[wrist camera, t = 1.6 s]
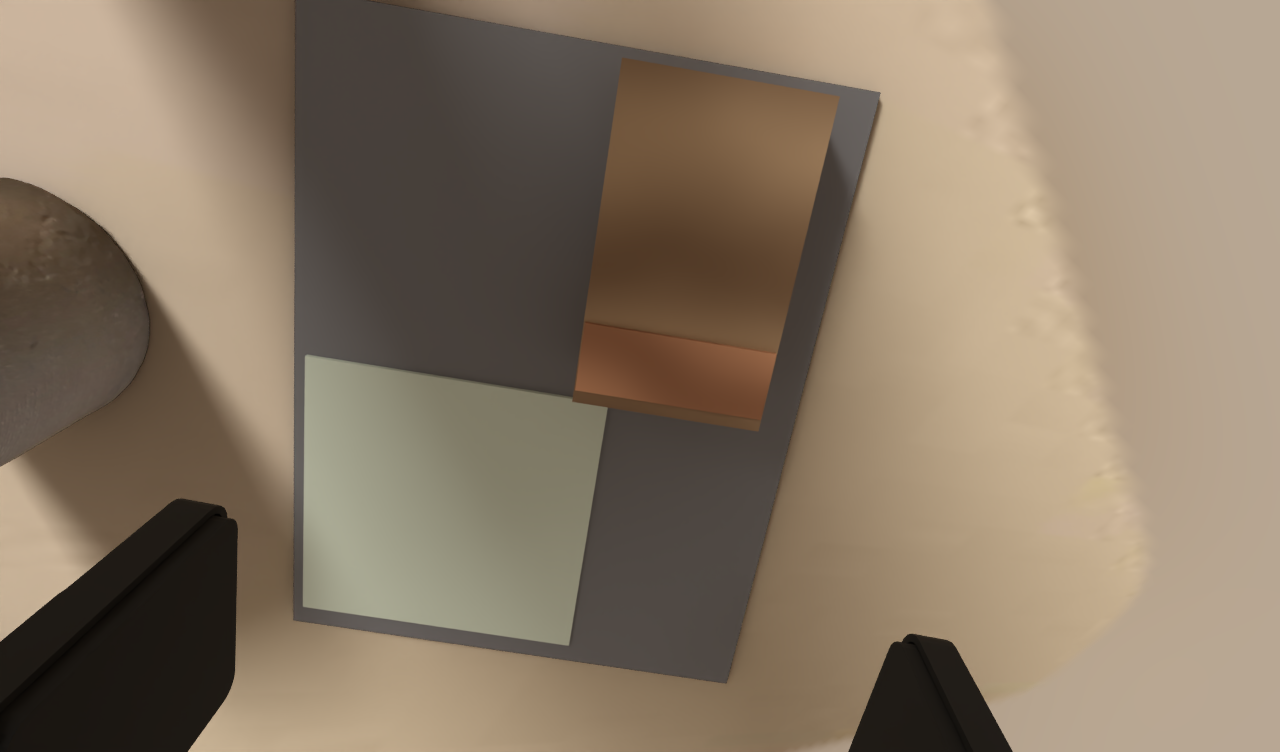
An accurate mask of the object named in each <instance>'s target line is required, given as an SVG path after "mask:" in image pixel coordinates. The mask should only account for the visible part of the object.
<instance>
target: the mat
mask: <svg viewBox="0 0 1280 752" xmlns="http://www.w3.org/2000/svg"><path fill="white" fill-rule="evenodd" d="M622 57H623V58H628V59H634V60H640V61H645V62H651V63H656V64H662V65H668V66H673V67H679V68H684V69H690V70H695V71H701V72H707V73H712V74H718V75H723V76H729V77H735V78H740V79H746V80H751V81H757V82H763V83H768V84H774V85H779V86H785V87H791V88H796V89H802V90H807V91H813V92H818V93H824V94H830V95H835V96H840V98H839V102H838V106H837V111H836V115H835V119H834V123H833V127H832V131H831V135H830V139H829V143H828V148H827V152H826V156H825V160H824V164H823V168H822V172H821V176H820V180H819V185H818V189H817V193H816V197H815V201H814V205H813V209H812V213H811V217H810V222H809V226H808V230H807V234H806V238H805V242H804V246H803V250H802V254H801V259H800V263H799V267H798V271H797V275H796V279H795V283H794V287H793V291H792V296H791V300H790V304H789V308H788V312H787V316H786V320H785V324H784V328H783V332H782V337H781V341H780V345H779V349H778V353H777V357H776V361H775V365H774V369H773V374H772V378H771V382H770V386H769V390H768V394H767V398H766V402H765V406H764V411H763V415H762V419H761V423H760V427H759V431H751V430H745V429H739V428H733V427H726V426H720V425H714V424H707V423H701V422H695V421H689V420H682V419H676V418H670V417H664V416H657V415H651V414H645V413H639V412H632V411H626V410H620V409H614V408H607V407H601V406H595V405H589V404H582V403H576V402H572V399H573V392H574V386H575V379H576V372H577V365H578V358H579V351H580V344H581V337H582V330H583V323H584V316H585V310H586V303H587V296H588V289H589V282H590V275H591V268H592V261H593V254H594V247H595V241H596V234H597V227H598V220H599V213H600V206H601V199H602V192H603V185H604V178H605V171H606V165H607V158H608V151H609V144H610V137H611V130H612V123H613V116H614V109H615V102H616V96H617V89H618V82H619V75H620V68H621V61H622ZM879 97H880V92H875V91H869V90H864V89H858V88H852V87H847V86H841V85H836V84H830V83H825V82H819V81H813V80H808V79H802V78H797V77H791V76H786V75H780V74H774V73H769V72H763V71H758V70H752V69H747V68H741V67H735V66H730V65H724V64H719V63H713V62H708V61H702V60H696V59H691V58H685V57H680V56H674V55H669V54H663V53H657V52H652V51H646V50H641V49H635V48H630V47H624V46H618V45H613V44H607V43H602V42H596V41H591V40H585V39H579V38H574V37H568V36H563V35H557V34H552V33H546V32H540V31H535V30H529V29H524V28H518V27H513V26H507V25H501V24H496V23H490V22H485V21H479V20H474V19H468V18H462V17H457V16H451V15H446V14H440V13H435V12H429V11H423V10H418V9H412V8H407V7H401V6H396V5H390V4H384V3H379V2H373V1H368V0H296V8H295V316H294V620H295V621H302V622H308V623H315V624H322V625H329V626H336V627H343V628H349V629H356V630H363V631H370V632H377V633H384V634H391V635H397V636H404V637H411V638H418V639H425V640H432V641H439V642H445V643H452V644H459V645H466V646H473V647H480V648H486V649H493V650H500V651H507V652H514V653H521V654H528V655H534V656H541V657H548V658H555V659H562V660H569V661H575V662H582V663H589V664H596V665H603V666H610V667H617V668H623V669H630V670H637V671H644V672H651V673H658V674H665V675H671V676H678V677H685V678H692V679H699V680H706V681H712V682H719V683H727V680H728V676H729V672H730V668H731V664H732V660H733V657H734V653H735V649H736V645H737V641H738V637H739V634H740V630H741V626H742V622H743V618H744V614H745V611H746V607H747V603H748V599H749V595H750V591H751V588H752V584H753V580H754V576H755V572H756V568H757V565H758V561H759V557H760V553H761V549H762V545H763V542H764V538H765V534H766V530H767V526H768V522H769V519H770V515H771V511H772V507H773V503H774V499H775V496H776V492H777V488H778V484H779V480H780V476H781V473H782V469H783V465H784V461H785V457H786V453H787V450H788V446H789V442H790V438H791V434H792V430H793V427H794V423H795V419H796V415H797V411H798V407H799V404H800V400H801V396H802V392H803V388H804V384H805V381H806V377H807V373H808V369H809V365H810V361H811V358H812V354H813V350H814V346H815V342H816V338H817V335H818V331H819V327H820V323H821V319H822V315H823V312H824V308H825V304H826V300H827V296H828V292H829V289H830V285H831V281H832V277H833V273H834V269H835V266H836V262H837V258H838V254H839V250H840V246H841V243H842V239H843V235H844V231H845V227H846V223H847V220H848V216H849V212H850V208H851V204H852V200H853V197H854V193H855V189H856V185H857V181H858V177H859V174H860V170H861V166H862V162H863V158H864V154H865V151H866V147H867V143H868V139H869V135H870V131H871V128H872V124H873V120H874V116H875V112H876V108H877V105H878V101H879Z"/></svg>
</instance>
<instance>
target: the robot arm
mask: <svg viewBox="0 0 1280 752" xmlns="http://www.w3.org/2000/svg"><path fill="white" fill-rule="evenodd" d="M237 538H238V528H237V523H236V521H235V520H234V519H230V518H227V513H226V510H225V508H223V507H222V506H219V505H214V504H208V503H203V502H198V501H192V500H187V499H176V500H174V501H173V502H171V503H170V504H168V505H167V506H166V507H165V508H164V509H162V510H161V511H160V512H159V513H158V514H156V515H155V516H154V517H153V518H151V519H150V520H149V521H148V522H147V523H145V524H144V525H143V526H142V527H141V528H139V529H138V530H137V531H136V532H135V533H133V534H132V535H131V536H130V537H128V538H127V539H126V540H125V541H124V542H122V543H121V544H120V545H119V546H118V547H116V548H115V549H114V550H113V551H112V552H110V553H109V554H108V555H107V556H105V557H104V558H103V559H102V560H101V561H99V562H98V563H97V564H96V565H95V566H93V567H92V568H91V569H90V570H89V571H87V572H86V573H85V574H84V575H82V576H81V577H80V578H79V579H78V580H76V581H75V582H74V583H73V584H72V585H70V586H69V587H68V588H67V589H65V590H64V591H62V592H61V593H59V594H58V595H57V596H55V597H54V598H53V599H52V600H50V601H49V602H48V603H47V604H46V605H44V606H43V607H42V608H41V609H40V610H38V611H37V612H36V613H35V614H33V615H32V616H31V617H30V618H29V619H27V620H26V621H25V622H24V623H23V624H21V625H20V626H19V627H18V628H16V629H15V630H14V631H13V632H12V633H10V634H9V635H8V636H7V637H6V638H4V639H3V640H2V641H1V642H0V752H188V750H189V749H190V748H191V746H192V745H193V743H194V742H195V741H196V739H197V738H198V736H199V735H200V734H201V732H202V731H203V730H204V728H205V727H206V725H207V724H208V723H209V721H210V720H211V718H212V717H213V716H214V714H215V713H216V712H217V710H218V709H219V707H220V706H221V705H222V703H223V702H224V700H225V699H226V697H227V695H228V693H229V691H230V689H231V686H232V683H233V679H234V675H235V646H236V592H237ZM849 752H1012V750H1011V748H1010V746H1009V744H1008V742H1007V741H1006V739H1005V737H1004V735H1003V733H1002V731H1001V729H1000V728H999V726H998V724H997V722H996V720H995V718H994V717H993V715H992V713H991V711H990V709H989V707H988V706H987V704H986V702H985V700H984V698H983V696H982V695H981V693H980V691H979V689H978V687H977V685H976V684H975V682H974V680H973V678H972V676H971V674H970V673H969V671H968V669H967V667H966V665H965V663H964V662H963V660H962V658H961V656H960V654H959V652H958V651H957V649H956V647H955V646H954V645H953V643H952V642H950V641H948V640H943V639H938V638H932V637H927V636H922V635H916V634H908V635H907V636H906V637H905V638H904V639H903V641H902V642H894V643H893V644H892V645H891V646H890V648H889V651H888V653H887V656H886V658H885V661H884V663H883V666H882V668H881V671H880V673H879V676H878V678H877V681H876V683H875V686H874V688H873V691H872V693H871V696H870V699H869V701H868V704H867V706H866V709H865V711H864V714H863V716H862V719H861V721H860V724H859V726H858V729H857V731H856V734H855V736H854V739H853V741H852V744H851V747H850V749H849Z"/></svg>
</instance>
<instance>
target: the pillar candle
mask: <svg viewBox="0 0 1280 752" xmlns="http://www.w3.org/2000/svg"><path fill="white" fill-rule="evenodd" d="M149 325H150V321H149V313H148V308H147V305H146V302H145V298H144V294H143V290H142V287H141V284H140V282H139V280H138V278H137V275H136V274H135V272H134V271H133V269H132V267H131V266H130V264H129V262H128V261H127V259H126V257H125V256H124V254H123V253H122V251H121V250H120V249H119V248H118V247H117V246H116V245H115V244H114V241H113V240H111V238H110V237H109V236H108V235H107V234H106V233H105V232H104V231H103V230H102V229H101V228H100V226H98V225H97V224H96V223H95V222H94V221H92V220H91V219H89V218H88V217H87V216H86V215H85V214H83V213H82V212H81V211H80V210H78V209H77V208H75V207H73V206H72V205H70V204H68V203H66V202H65V201H63V200H61V199H60V198H58V197H56V196H55V195H53V194H51V193H49V192H47V191H45V190H43V189H41V188H39V187H36V186H34V185H31V184H28V183H24V182H22V181H18V180H14V179H10V178H0V466H2V465H4V464H6V463H8V462H10V461H11V460H13V459H15V458H17V457H19V456H20V455H22V454H23V453H25V452H26V451H28V450H30V449H32V448H33V447H35V446H36V445H38V444H40V443H42V442H43V441H45V440H47V439H48V438H50V437H52V436H53V435H55V434H56V433H58V432H60V431H62V430H63V429H65V428H67V427H69V426H70V425H72V424H73V423H75V422H76V421H78V420H80V419H82V418H83V417H85V416H87V415H89V414H90V413H92V412H94V411H96V410H98V409H100V408H102V407H103V406H105V405H107V404H108V403H110V402H111V401H113V400H114V399H115V398H116V397H117V396H118V395H119V394H120V393H121V392H122V391H123V390H124V389H125V388H126V387H127V386H128V385H129V384H130V383H131V382H132V380H133V378H134V377H135V375H136V373H137V371H138V369H139V367H140V366H141V364H142V362H143V360H144V358H145V354H146V351H147V348H148V342H149V334H150V332H149V329H150V327H149Z"/></svg>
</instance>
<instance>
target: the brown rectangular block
mask: <svg viewBox="0 0 1280 752" xmlns="http://www.w3.org/2000/svg"><path fill="white" fill-rule="evenodd" d="M839 98H840V96H835V95H830V94H824V93H818V92H813V91H807V90H802V89H796V88H791V87H785V86H779V85H774V84H768V83H763V82H757V81H751V80H746V79H740V78H735V77H729V76H723V75H718V74H712V73H707V72H701V71H695V70H690V69H684V68H679V67H673V66H668V65H662V64H656V63H651V62H645V61H640V60H634V59H628V58H623V57H622V61H621V68H620V75H619V82H618V89H617V96H616V102H615V109H614V116H613V123H612V130H611V137H610V144H609V151H608V158H607V165H606V171H605V178H604V185H603V192H602V199H601V206H600V213H599V220H598V227H597V234H596V241H595V247H594V254H593V261H592V268H591V275H590V282H589V289H588V296H587V303H586V310H585V316H584V323H583V330H582V337H581V344H580V351H579V358H578V365H577V372H576V379H575V386H574V392H573V399H572V402H576V403H582V404H589V405H595V406H601V407H607V408H614V409H620V410H626V411H632V412H639V413H645V414H651V415H657V416H664V417H670V418H676V419H682V420H689V421H695V422H701V423H707V424H714V425H720V426H726V427H733V428H739V429H745V430H751V431H759V427H760V423H761V419H762V415H763V411H764V406H765V402H766V398H767V394H768V390H769V386H770V382H771V378H772V374H773V369H774V365H775V361H776V357H777V353H778V349H779V345H780V341H781V337H782V332H783V328H784V324H785V320H786V316H787V312H788V308H789V304H790V300H791V296H792V291H793V287H794V283H795V279H796V275H797V271H798V267H799V263H800V259H801V254H802V250H803V246H804V242H805V238H806V234H807V230H808V226H809V222H810V217H811V213H812V209H813V205H814V201H815V197H816V193H817V189H818V185H819V180H820V176H821V172H822V168H823V164H824V160H825V156H826V152H827V148H828V143H829V139H830V135H831V131H832V127H833V123H834V119H835V115H836V111H837V106H838V102H839Z"/></svg>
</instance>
